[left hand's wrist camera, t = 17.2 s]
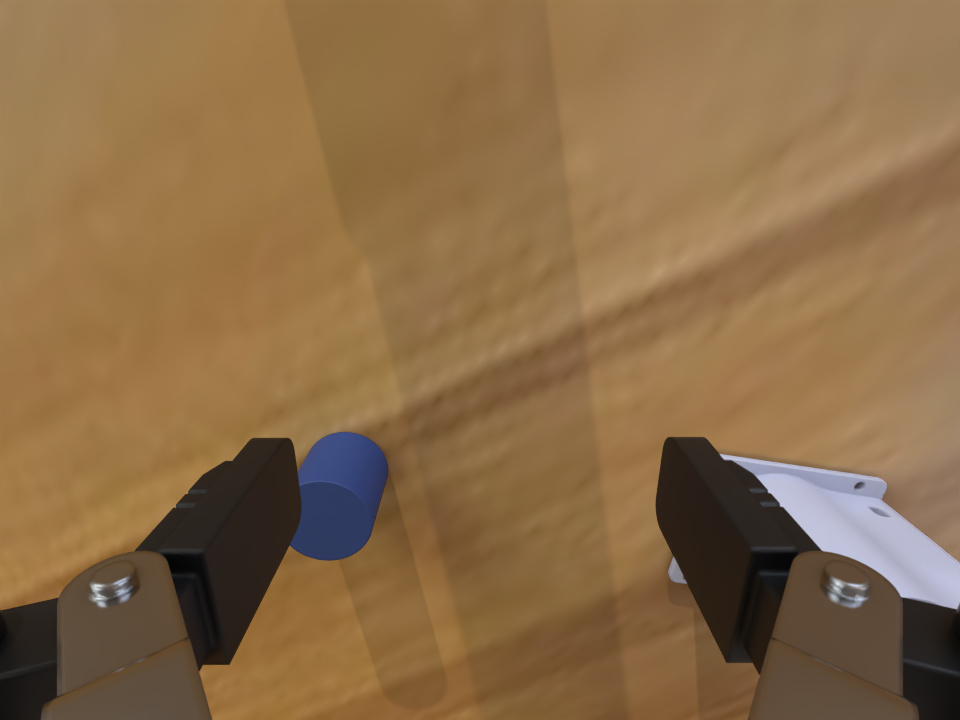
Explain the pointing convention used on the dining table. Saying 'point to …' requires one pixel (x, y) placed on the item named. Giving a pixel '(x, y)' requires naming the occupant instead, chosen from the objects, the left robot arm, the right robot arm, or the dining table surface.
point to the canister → (339, 496)
